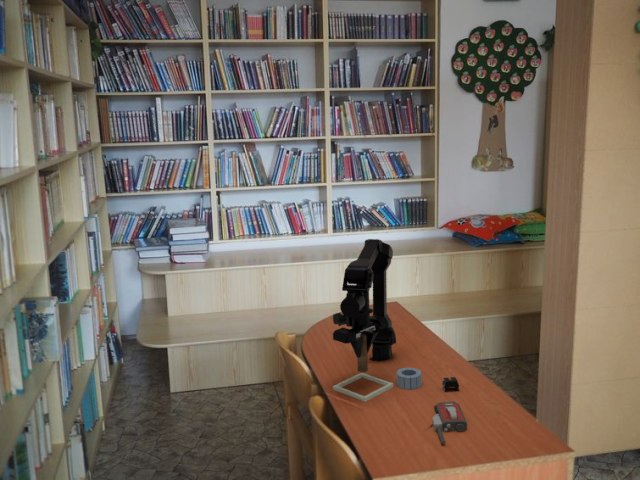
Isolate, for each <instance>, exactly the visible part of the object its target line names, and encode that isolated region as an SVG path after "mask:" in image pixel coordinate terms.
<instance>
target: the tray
mask: <svg viewBox="0 0 640 480" xmlns="http://www.w3.org/2000/svg"><path fill="white" fill-rule="evenodd" d="M362 378H363V379H365V380H368V381H371V382H374V383H377V384H379V385H381V386H382V387H380V388H378V389H376V390H374V391H372V392H370V393H368V394H366V395H363V394H360V393H357V392H355V391H352V390H349V389H346V388H343V387H346V386H348V385H349V384H351V383H354V382H356V381H357V380H360V379H362ZM392 388H394V383H393V382H390V381H388V380H384V379H381V378H379V377H376V376H373V375H369V374H367V373H365V372H359V373H358V374H356V375H353V376H351V377H349V378H347V379H345V380H343V381H341V382H339V383H337V384H335V385H333V386H332V390H333V391H336V392H339V393H341V394H343V395H347V396H348V397H352V398H354V399H357V400H359V401H362V402H364V403H365V402H367V401H370V400H372V399H373V398H376V396H378V395H382V394H383V393H384V392H386V391H389V390H390V389H392Z"/></svg>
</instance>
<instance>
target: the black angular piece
mask: <svg viewBox="0 0 640 480" xmlns="http://www.w3.org/2000/svg"><path fill="white" fill-rule="evenodd" d="M458 382H459V381H458V379H457V378H456V376H454V377H453V376H452V377H450V378H449V377H443V378H442V383H441V385H442V389H443V391H444V392H445V393H446V392H447V393H448V392H449V390H447V389H449V388H452V389H454V392H456V391H457V392H459V390H460V385H459V383H458Z"/></svg>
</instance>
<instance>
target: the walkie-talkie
mask: <svg viewBox="0 0 640 480" xmlns="http://www.w3.org/2000/svg"><path fill="white" fill-rule="evenodd" d="M433 408H434V411H435V414H434V415H433V416H432V421H431V422H432V426H433V430H434V432H435V431H436V432H437V434H438V436H439V439H440V442H441V444H442V445H445V444H446V439H445V436H444V434H443V432H445V433H447V432H454V431H455V432H456V431H457V432H463V431H467V429H468V428H467V427H468V421H467V419H466V417H465V414H464V413H463V411H462V408H461V406H460V404H459V403H457V402H456V401H441V402H437V404H435V405H433Z"/></svg>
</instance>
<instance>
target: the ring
mask: <svg viewBox="0 0 640 480" xmlns="http://www.w3.org/2000/svg"><path fill="white" fill-rule="evenodd" d="M422 375H423V374H422V371H421V370H420V369H418V368H414V367H403V368H399V369H398V370H397V371H396V386H397V387H398V388H400V389H403V390H416V389H419V388H421V387H422V385H423V383H422V381H423V380H422V379H423V378H422V377H423V376H422Z"/></svg>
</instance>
